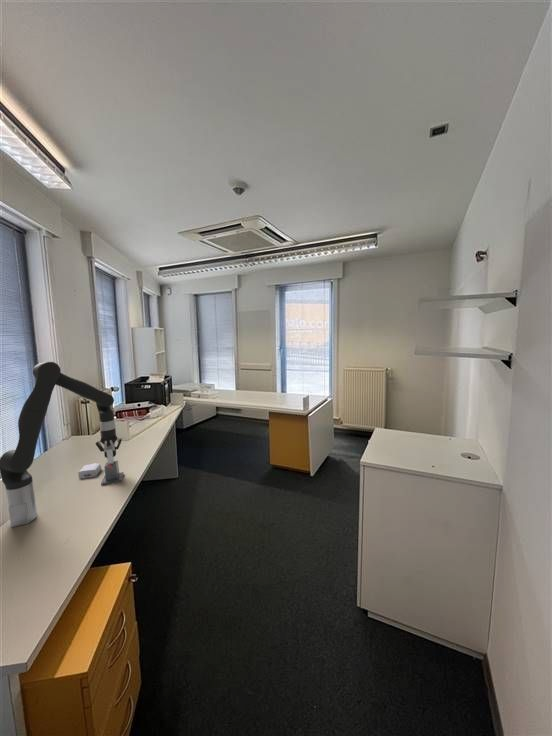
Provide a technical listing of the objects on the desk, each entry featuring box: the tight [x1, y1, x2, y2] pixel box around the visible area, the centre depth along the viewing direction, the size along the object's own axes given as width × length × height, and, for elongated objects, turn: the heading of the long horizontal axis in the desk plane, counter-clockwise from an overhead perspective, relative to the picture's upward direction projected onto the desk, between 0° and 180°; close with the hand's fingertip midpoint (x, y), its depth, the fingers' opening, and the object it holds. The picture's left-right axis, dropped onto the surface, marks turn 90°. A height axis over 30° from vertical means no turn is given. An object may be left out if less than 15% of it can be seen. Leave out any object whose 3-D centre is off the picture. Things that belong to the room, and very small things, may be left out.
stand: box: [100, 460, 125, 486], centre depth 167 cm, size 10×10×10 cm
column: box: [106, 445, 116, 465], centre depth 166 cm, size 3×3×17 cm
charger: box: [77, 462, 102, 480], centre depth 178 cm, size 5×9×15 cm
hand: (110, 456), depth 166 cm, fingers closed on column, 3 cm apart
